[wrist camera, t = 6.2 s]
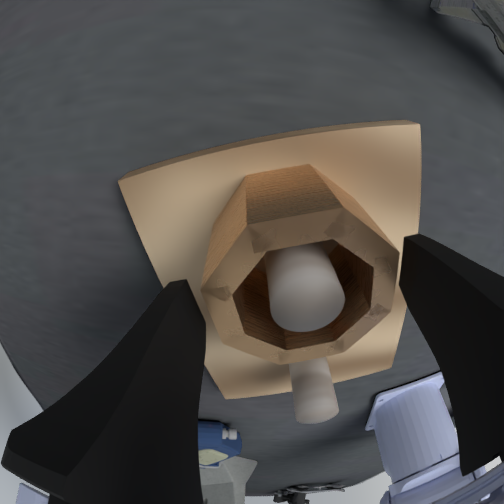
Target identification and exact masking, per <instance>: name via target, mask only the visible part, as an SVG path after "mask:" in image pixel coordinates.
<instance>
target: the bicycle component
mask: <svg viewBox="0 0 504 504" xmlns="http://www.w3.org/2000/svg"><path fill="white" fill-rule="evenodd" d="M342 486H345V485H337V484H328V485H327V486H302V485H297V486H293V487H290V488H287V490H289V491H292V492H295V493H293V494H288V491H285V492H284V493H282V490H278V492H277V493H275V495H274V500H273V501H274V502H277V503H280V502H285V501H288V503H289V504H309V500H305V496H306V494H307V493H310V492H325V491H342V492H344V491H345V490H344V489H342V488H344V487H342ZM321 487H326V488H328V489H323V490H305V489H309V488H319V489H321Z"/></svg>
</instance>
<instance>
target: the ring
mask: <svg viewBox="0 0 504 504" xmlns="http://www.w3.org/2000/svg"><path fill="white" fill-rule="evenodd" d="M330 239H334V240H335V241H337V242H338V245H337V246H336V247H335V248H334V249H333V250H332V251H331V252H330V254H329V255H328V257H329V259H330V261H331V264H332V266H333V268H334V271H335V273H336V275H337V277H338V280H339V282H340V285H341V287H342V289H343V292H344V295H345V302H344V306H343V309H342V311H341V312H340V314H339V315H338V316H337V317H336V318H335V319H334V320H333V321H332V322H331V323H329V324H328V325H326V326H324V327H322V328H319V329H316V330H313V331H308V332H295V331H290V330H287V329H284V328H282V327H281V326H279V325H278V324H277V323H276V322H275V321H274V319H273V318H272V315H271V310H270V301H269V292H268V283H267V274H266V273H265V272H263V271H261V270H259V269H257V268H255V266H256V264H257V263H258V262H259V261H260V259H261V258H262V257H263V256H264V254H265V253H266V252H267V251H271V250H276V249H281V248H287V247H292V246H298V245H303V244H308V243H314V242H319V241H325V240H330ZM399 255H400V252H399V251H398V250H397V248H396V247H395V246H394V245H393V243H392V242H391V241H390V240H389V238H388V237H387V236H386V235H385V233H384V232H383V231H382V230H381V229H380V227H379V226H378V225H377V224H376V223H375V221H374V220H373V219H372V218H371V217H370V216H369V214H368V213H367V212H366V211H365V210H364V209H363V208H362V206H361V205H360V204H359V203H358V202H357V201H356V200H355V199H354V198H353V197H352V196H351V195H350V194H348V193H347V192H346V191H345V190H343V189H342V188H341V187H339V186H338V185H337V184H336V183H334V182H333V181H332V180H330V179H329V178H328V177H326V176H325V175H324V174H322V173H321V172H320V171H318V170H317V169H316V168H314V167H313V166H311V165H310V164H305V165H299V166H293V167H287V168H281V169H276V170H270V171H265V172H260V173H254V174H249V175H246V176H245V177H244V179H243V180H242V182H241V183H240V185H239V186H238V187H237V189H236V190H235V192H234V193H233V195H232V196H231V198H230V199H229V201H228V202H227V204H226V205H225V207H224V208H223V210H222V211H221V213H220V214H219V216H218V217H217V219H216V220H215V222H214V223H213V228H212V233H211V238H210V242H209V247H208V253H207V258H206V263H205V268H204V273H203V279H202V284H201V289H200V291H201V293H202V296H203V298H204V301H205V303H206V306H207V308H208V310H209V313H210V315H211V318H212V320H213V322H214V325H215V327H216V329H217V332H218V334H219V336H220V339H221V341H222V343H223V344H224V345H227V346H229V347H232V348H235V349H237V350H240V351H242V352H245V353H248V354H250V355H253V356H256V357H259V358H261V359H264V360H267V361H270V362H273V363H276V364H279V365H283V364H289V363H295V362H300V361H306V360H311V359H316V358H321V357H326V356H331V355H335V354H340V353H343V352H345V351H346V350H348V349H349V348H350V347H351V346H352V345H354V344H355V343H356V342H357V341H358V340H360V339H361V338H362V337H363V336H364V335H366V334H367V333H368V332H369V331H370V330H371V329H372V328H374V327H375V326H376V325H377V324H378V323H379V322H380V321H381V320H383V319H384V318H385V317H386V316H387V315H388V314H389V313H390V312H391V311H392V306H393V300H394V293H395V287H396V280H397V272H398V264H399Z"/></svg>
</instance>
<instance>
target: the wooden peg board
mask: <svg viewBox="0 0 504 504" xmlns="http://www.w3.org/2000/svg"><path fill="white" fill-rule="evenodd" d="M305 164H310V165H311V166H313V167H314V168H316V169H317V170H318V171H320V172H321V173H322V174H324V175H325V176H326V177H328V178H329V179H330V180H332V181H333V182H334V183H336V184H337V185H338V186H339V187H341V188H342V189H343V190H345V191H346V192H347V193H348V194H350V195H351V196H352V197H353V198H354V199H355V200H356V201H357V202H358V203H359V204H360V205H361V206H362V208H363V209H364V210H365V211H366V212H367V213H368V214H369V216H370V217H371V218H372V219H373V220H374V221H375V223H376V224H377V225H378V226H379V227H380V229H381V230H382V231H383V232H384V233H385V235H386V236H387V237H388V238H389V240H390V241H391V242H392V243H393V245H394V246H395V247H396V248H397V250H398V251H399V252H400V255H399V264H398V272H397V280H396V287H395V293H394V300H393V306H392V311H391V312H390V313H389V314H388V315H387V316H386V317H385V318H384V319H383V320H381V321H380V322H379V323H378V324H377V325H376V326H375V327H374V328H372V329H371V330H370V331H369V332H368V333H367V334H366V335H364V336H363V337H362V338H361V339H360V340H358V341H357V342H356V343H355V344H354V345H352V346H351V347H350V348H349V349H348V350H346V351H345V352H343V353H340V354H335V355H331V356H326V357H321V358H316V359H311V360H306V361H300V362H295V363H289V364H283V365H279V364H276V363H273V362H270V361H267V360H264V359H261V358H259V357H256V356H253V355H250V354H248V353H245V352H242V351H240V350H237V349H235V348H232V347H229V346H227V345H224V344H223V343H222V341H221V339H220V336H219V334H218V332H217V329H216V327H215V325H214V322H213V320H212V318H211V315H210V313H209V310H208V308H207V306H206V303H205V301H204V298H203V296H202V293H201V291H200V289H201V284H202V279H203V273H204V268H205V263H206V258H207V253H208V247H209V242H210V238H211V233H212V228H213V223H214V222H215V220H216V219H217V217H218V216H219V214H220V213H221V211H222V210H223V208H224V207H225V205H226V204H227V202H228V201H229V199H230V198H231V196H232V195H233V193H234V192H235V190H236V189H237V187H238V186H239V185H240V183H241V182H242V180H243V179H244V177H245V176H246V175H249V174H254V173H260V172H265V171H270V170H276V169H281V168H287V167H293V166H299V165H305ZM118 183H119V186H120V189H121V191H122V194H123V197H124V199H125V202H126V204H127V207H128V209H129V212H130V214H131V217H132V219H133V222H134V224H135V226H136V229H137V231H138V234H139V236H140V238H141V241H142V243H143V245H144V247H145V250H146V252H147V254H148V256H149V258H150V261H151V263H152V265H153V267H154V269H155V271H156V274H157V276H158V278H159V280H160V282H161V284H162V286H163V288H165V286H166V285H167V284H168V283H169V282H172V281H177V280H183V279H187V281H188V283H189V285H190V288H191V290H192V292H193V295H194V297H195V299H196V301H197V304H198V306H199V308H200V310H201V313H202V315H203V317H204V319H205V321H206V353H205V361H204V364H205V366H206V368H207V370H208V371H209V373H210V375H211V376H212V378H213V380H214V381H215V383H216V384H217V386H218V388H219V389H220V391H221V392H222V394H223V396H224V397H225V399H235V398H245V397H254V396H262V395H270V394H277V393H283V392H290V391H292V392H293V400H294V408H295V415H296V420H297V421H298V422H300V423H304V424H314V423H320V422H323V421H326V420H329V419H331V418H333V417H334V416H336V415H337V414H338V412H339V409H338V404H337V400H336V395H335V391H334V387H333V383H336V382H340V381H344V380H348V379H352V378H356V377H360V376H364V375H368V374H371V373H375V372H378V371H382V370H385V369H389V368H391V366H392V363H393V359H394V356H395V352H396V349H397V345H398V341H399V337H400V333H401V329H402V325H403V321H404V316H405V312H406V307H407V304H406V301H405V299H404V297H403V294H402V292H401V289H400V287H399V278H400V270H401V261H402V252H403V241H404V237H405V236H410V235H414V234H418V226H419V214H420V197H421V133H420V124H418V123H414V122H411V121H408V120H391V121H375V122H363V123H352V124H342V125H333V126H325V127H318V128H310V129H304V130H297V131H291V132H285V133H279V134H273V135H268V136H263V137H258V138H253V139H248V140H243V141H239V142H234V143H230V144H225V145H221V146H217V147H213V148H209V149H205V150H201V151H197V152H193V153H190V154H186V155H182V156H179V157H175V158H172V159H168V160H165V161H162V162H158V163H155V164H152V165H149V166H146V167H143V168H140V169H137V170H134V171H131V172H128V173H127V174H126V175H125V176H123V177H122V178H121V179H120V180H119V181H118ZM337 245H338V242H337V241H335V240H334V239H330V240H325V241H319V242H314V243H308V244H303V245H298V246H292V247H287V248H281V249H276V250H271V251H267V252H266V253H265V254H264V256H263V257H262V258H261V259H260V261H259V262H258V263H257V264H256V266H255V268H257V269H259V270H261V271H263V272H265V273H266V274H267V283H268V292H269V301H270V310H271V315H272V318H273V319H274V321H275V322H276V323H277V324H278V325H279V326H281V327H282V328H284V329H287V330H290V331H295V332H308V331H313V330H316V329H319V328H322V327H324V326H326V325H328V324H329V323H331V322H332V321H333V320H334V319H335V318H336V317H337V316H338V315H339V314H340V312H341V311H342V309H343V306H344V302H345V295H344V292H343V289H342V287H341V285H340V282H339V280H338V277H337V275H336V273H335V271H334V268H333V266H332V264H331V261H330V259H329V257H328V255H329V254H330V252H331V251H332V250H333V249H334V248H335V247H336V246H337Z"/></svg>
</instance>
